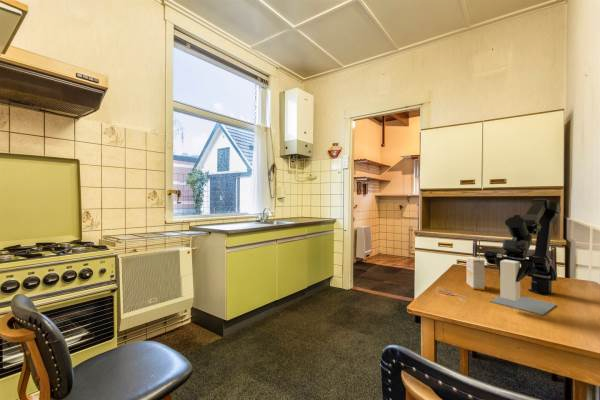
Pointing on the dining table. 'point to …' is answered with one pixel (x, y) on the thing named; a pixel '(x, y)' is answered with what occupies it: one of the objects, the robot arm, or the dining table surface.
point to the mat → (526, 304)
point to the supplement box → (475, 273)
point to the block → (509, 279)
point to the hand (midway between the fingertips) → (508, 279)
